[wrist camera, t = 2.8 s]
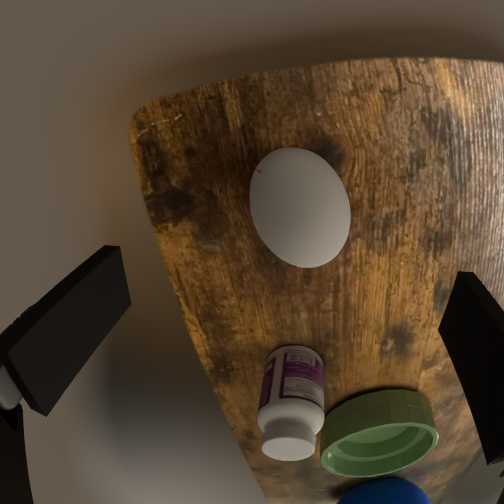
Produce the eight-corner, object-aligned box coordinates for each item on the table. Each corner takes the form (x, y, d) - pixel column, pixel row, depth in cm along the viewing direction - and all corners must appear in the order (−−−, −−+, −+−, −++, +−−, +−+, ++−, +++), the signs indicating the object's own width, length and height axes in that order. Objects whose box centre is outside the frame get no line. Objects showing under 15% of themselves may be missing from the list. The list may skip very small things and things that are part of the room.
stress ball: (261, 150, 24) (195, 179, 20) (351, 124, 18) (289, 149, 14) (294, 238, 26) (239, 281, 22) (382, 235, 20) (336, 291, 16)
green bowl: (313, 445, 35) (311, 477, 30) (332, 384, 29) (333, 424, 24) (406, 443, 33) (411, 473, 28) (446, 382, 27) (458, 417, 23)
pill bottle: (288, 387, 30) (279, 469, 21) (255, 357, 28) (236, 443, 20) (334, 367, 28) (337, 454, 19) (302, 333, 26) (297, 426, 18)
